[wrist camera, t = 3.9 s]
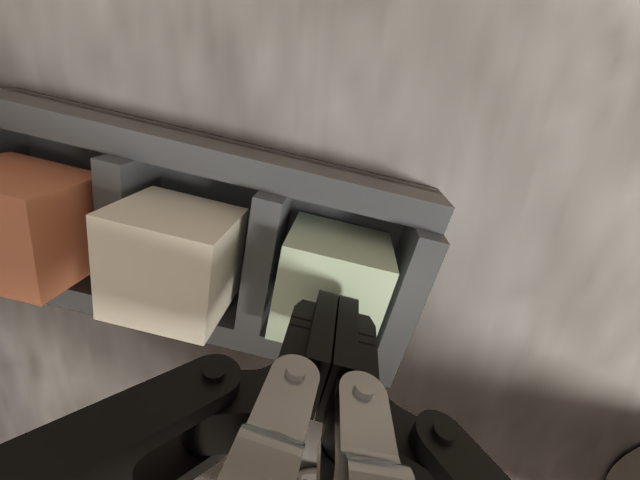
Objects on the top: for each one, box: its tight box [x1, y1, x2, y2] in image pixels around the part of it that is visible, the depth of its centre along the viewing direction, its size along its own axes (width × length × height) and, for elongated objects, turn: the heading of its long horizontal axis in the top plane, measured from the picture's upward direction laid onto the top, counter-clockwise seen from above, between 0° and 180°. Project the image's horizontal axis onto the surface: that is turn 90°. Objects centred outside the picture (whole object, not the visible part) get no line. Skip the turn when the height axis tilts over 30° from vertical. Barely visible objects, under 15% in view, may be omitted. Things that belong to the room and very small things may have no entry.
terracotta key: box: [0, 152, 94, 306], centre depth 14 cm, size 4×4×4 cm
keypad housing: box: [0, 88, 454, 388], centre depth 16 cm, size 21×9×4 cm, turn 78°
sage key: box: [265, 211, 399, 343], centre depth 15 cm, size 4×4×4 cm
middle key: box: [86, 186, 249, 346], centre depth 14 cm, size 4×4×4 cm
